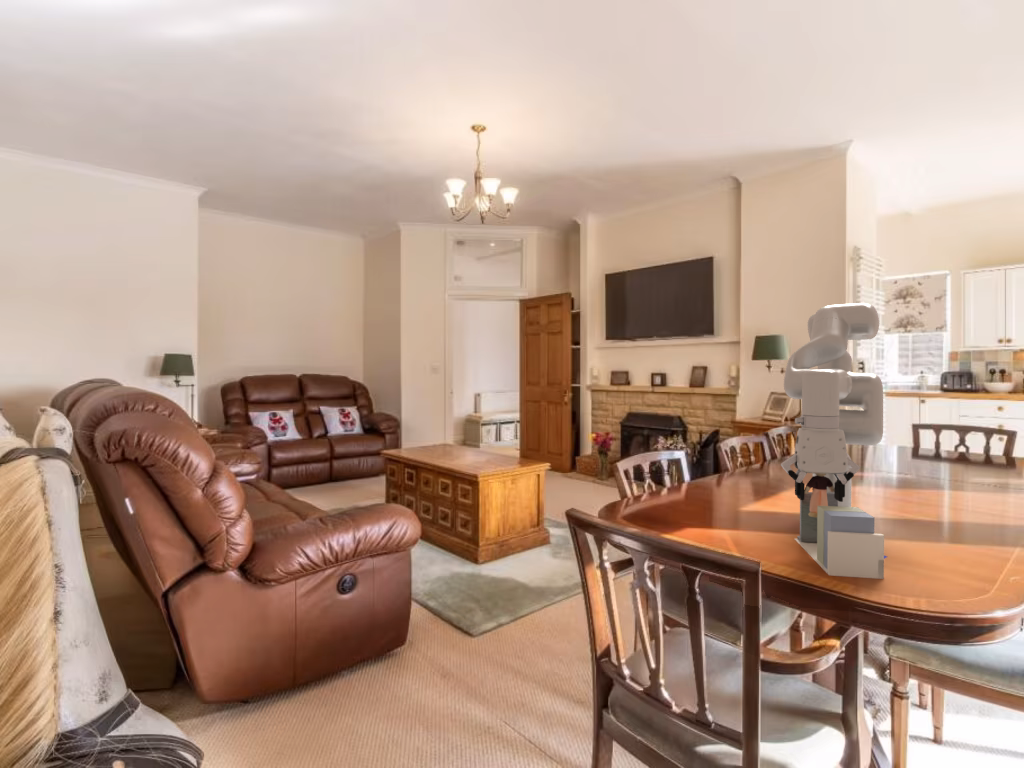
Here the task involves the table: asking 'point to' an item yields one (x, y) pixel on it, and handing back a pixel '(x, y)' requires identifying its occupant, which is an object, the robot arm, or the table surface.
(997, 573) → the table surface
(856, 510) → the book sage
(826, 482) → the grandmother figurine
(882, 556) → the book rack
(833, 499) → the bookend
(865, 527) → the book slate
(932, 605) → the table surface
